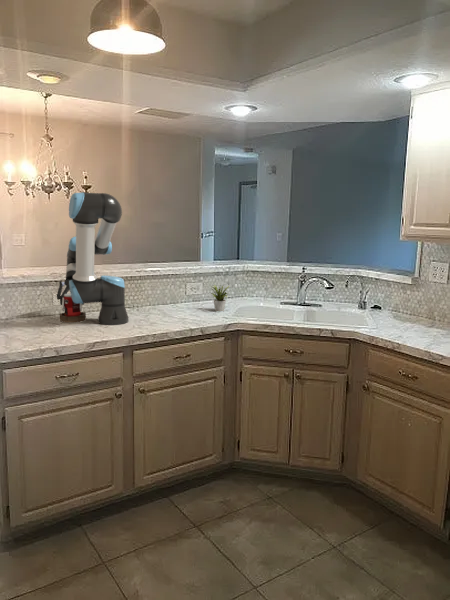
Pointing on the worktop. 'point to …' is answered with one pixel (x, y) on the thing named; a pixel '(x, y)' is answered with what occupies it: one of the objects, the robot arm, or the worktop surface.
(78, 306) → the canned food
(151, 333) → the worktop surface
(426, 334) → the worktop surface
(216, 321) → the worktop surface
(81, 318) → the walnut tray
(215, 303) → the house plant
